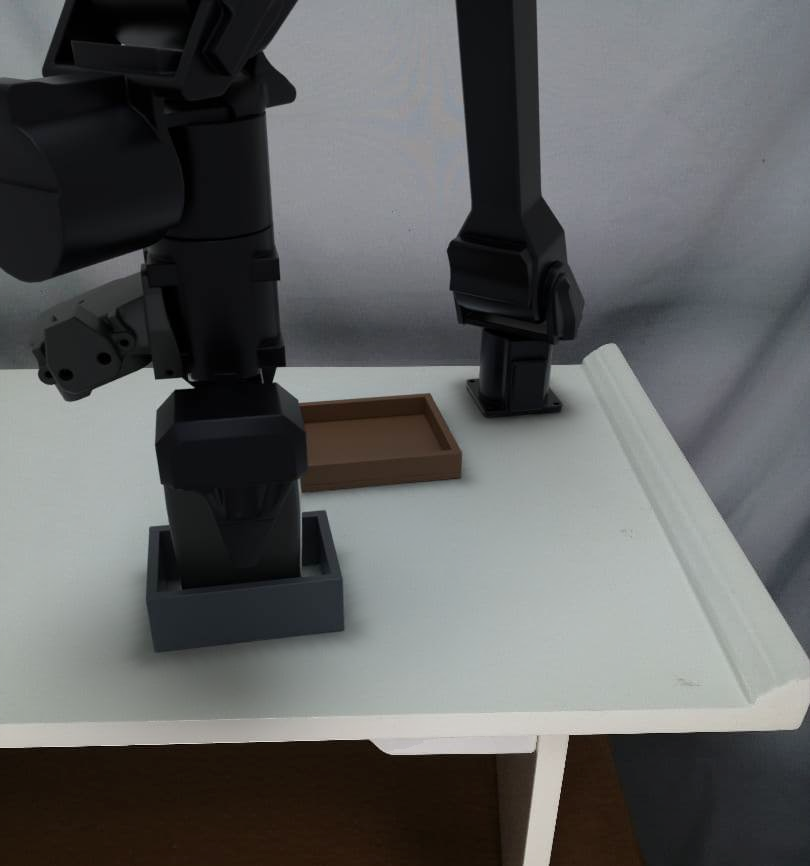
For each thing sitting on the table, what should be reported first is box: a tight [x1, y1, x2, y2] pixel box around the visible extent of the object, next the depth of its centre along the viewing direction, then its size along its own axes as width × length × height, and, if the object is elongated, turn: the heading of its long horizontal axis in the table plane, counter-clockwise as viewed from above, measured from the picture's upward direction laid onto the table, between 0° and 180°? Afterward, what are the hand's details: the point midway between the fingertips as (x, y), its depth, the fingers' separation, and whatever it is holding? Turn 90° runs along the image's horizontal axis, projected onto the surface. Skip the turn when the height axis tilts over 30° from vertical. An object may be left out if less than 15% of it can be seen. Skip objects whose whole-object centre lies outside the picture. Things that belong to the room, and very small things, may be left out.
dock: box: [145, 509, 345, 653], centre depth 53 cm, size 7×10×4 cm
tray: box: [299, 392, 463, 493], centre depth 69 cm, size 10×11×2 cm
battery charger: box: [162, 478, 304, 590], centre depth 51 cm, size 7×4×11 cm, turn 92°
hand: (239, 518), depth 51 cm, fingers open, 9 cm apart
